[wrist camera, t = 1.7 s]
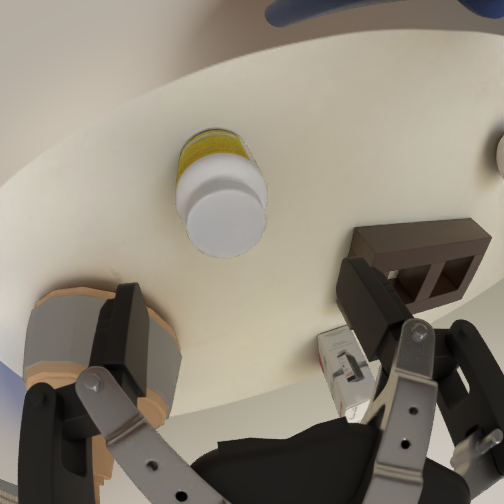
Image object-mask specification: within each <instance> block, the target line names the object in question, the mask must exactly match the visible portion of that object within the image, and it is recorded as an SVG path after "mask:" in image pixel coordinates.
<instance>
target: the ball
mask: <svg viewBox="0 0 504 504" xmlns="http://www.w3.org/2000/svg"><path fill="white" fill-rule="evenodd" d="M496 156H497V166H498V169H499V172H500V174H501V176H502V178H503V179H504V135H503V137H502V138H501V140H500V141H499V144H498V147H497V155H496Z"/></svg>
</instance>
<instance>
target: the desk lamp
mask: <svg viewBox="0 0 504 504" xmlns="http://www.w3.org/2000/svg"><path fill="white" fill-rule="evenodd" d="M115 294H116V293H113V292H108V291H103V290H98V289H93V288H88V287H77V288H69V289H60V290H54V291H52V292H51V293H49V294H48V295H46V296H45V297H44V298H42V299H41V300H39V301H38V302H36V305H35V308H34V309H33V310H32V311H31V315H30V319H29V322H28V326H27V332H26V341H25V351H24V363H23V381H24V383H25V388H26V390H27V391H28V390H29V388H30V387H31V386H33V385H34V384H36V383H39V382H45V383H48V384H50V385H51V386H52V387H53V388H54V389H56V388H59V387H63V386H66V385H69V384H72V383H74V382H76V380H77V378H78V376H79V374H80V373H81V372H82V371H83V370H85V369H87V368H88V366H89V361H90V355H91V350H92V345H93V340H94V335H95V332H96V326H97V323H98V317H99V313H100V309H101V307H102V306H103V305H104V303H105V302H106V300H107V299H111V298H115ZM147 309H148V313H149V320H150V327H149V342H148V361H147V392H146V397H141V398H138V399H137V408H138V410H139V411H140V412H141V413H142V415H143V416H144V417H145V418H146V419H147V420H148V422H149V423H150V424H151V425H152V426H153V428H154V429H157V428H159V427H160V426H162V425H164V422H165V420H166V419H168V418H169V414H170V411H171V408H172V404H173V399H174V393H175V388H176V383H177V379H178V374H179V369H180V364H181V359H182V355H181V353H180V349H181V348H180V345H179V343H178V340H177V338H176V335H175V333H174V330H173V328H172V327H170V326H169V325H168V324H167V323H166V322H165V321H164V320H163V319H162V318H161V317H160V316H158V315H157V314H156V313H155V312H154V311H153V310H152V309H150V308H148V307H147ZM105 443H106V440H105V438H104V437H103V435H102V434H100V435H96V436H93V437H92V459H93V479H94V492H95V503H96V504H100V496H99V485H104V479H106V480H107V479H108V480H109V479H111V475H112V469H113V463H114V457H113V456H112V454H111V453H110V452H109V450H108V448H107V447H106V444H105ZM0 504H18V485H15V484H12V483H9V482H6V481H4V480H1V479H0Z"/></svg>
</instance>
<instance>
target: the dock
mask: <svg viewBox="0 0 504 504" xmlns="http://www.w3.org/2000/svg"><path fill="white" fill-rule="evenodd" d="M491 239H492V237H491V236H490V235H489V234H488V233H487V232H486V231H485V230H484V229H483V228H482V227H481V226H479V225H478V224H477V223H476V222H475V221H474V220H473V219H472V218H469V219H455V220H441V221H428V222H415V223H402V224H390V225H378V226H366V227H355V230H354V235H353V239H352V244H351V248H350V252H349V257H356V256H362V257H363V258H364V259H365V260H366V262H367V263H368V264H369V266H370V267H375V268H377V269H378V270H379V271H381V272H382V273H383V274H384V275H385V276H386V278H388V275H389V273H390V271H395V270H400V272H399V275H398V277H397V278H395V279H390V280H388V281H389V282H390V285H392V286H393V288H394V289H395V292H397V293H398V295H399V296H400V298H401V299H402V301H403V302H404V304H405V305H406V307H407V308H408V309H409V311H410V312H411V314H416V313H419V312H423V311H426V310H429V309H433V308H436V307H439V306H442V305H446V304H449V303H452V302H455V301H458V300H461V299H462V297H463V295H464V293H465V292H466V290H467V288H468V286H469V284H470V282H471V281H472V279H473V277H474V275H475V273H476V271H477V269H478V267H479V265H480V263H481V261H482V259H483V256H484V254H485V252H486V250H487V248H488V246H489V243H490V241H491ZM349 257H348V258H349ZM336 303H337V305H338V307H339V309H340V311H341V313H342V315H343V317H344V319H345V321H346V323H347V325H348V327H349V329H350V330H353V328H352V326H351V324H350V322H349V320H348V318H347V316H346V314H345V312H344V311H343V309H342V307H341V305H340V303H339V301H338V299H337V302H336Z"/></svg>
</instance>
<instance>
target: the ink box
mask: <svg viewBox="0 0 504 504" xmlns="http://www.w3.org/2000/svg"><path fill="white" fill-rule="evenodd" d="M317 340H318V349H319V360H320V365H321V368H322V371H323V373H324V376H325V379H326V381H327V384H328V387H329V389H330V392H331V395H332V397H333V400H334V403H335V406H336V409H337V411H338V414H339V417H340V418H341V417H344V416H346V418H347V421H348V423H355V422H357V421H359V420H361V419H362V418H363V416H364V414H365V412H366V410H367V408H368V406H369V403H370V399H371V396H372V393H373V389H374V385H375V380H374V378H373V375H372V373H371V371H370V369H369V367H368V364H367V363H366V360H365V358H364V356H363V354H362V352H361V349H360V347H359V345H358V343H357V341H356V339H355V337H354V335H353V333H352V331H351V330H350V329H349V327H348V325H347V326H344V327H341V328H338V329H335V330H332V331H329V332H326V333H323V334H319V335H318V336H317Z"/></svg>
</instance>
